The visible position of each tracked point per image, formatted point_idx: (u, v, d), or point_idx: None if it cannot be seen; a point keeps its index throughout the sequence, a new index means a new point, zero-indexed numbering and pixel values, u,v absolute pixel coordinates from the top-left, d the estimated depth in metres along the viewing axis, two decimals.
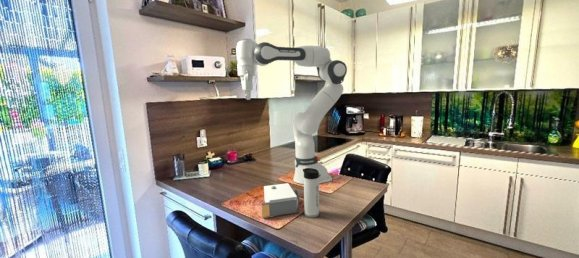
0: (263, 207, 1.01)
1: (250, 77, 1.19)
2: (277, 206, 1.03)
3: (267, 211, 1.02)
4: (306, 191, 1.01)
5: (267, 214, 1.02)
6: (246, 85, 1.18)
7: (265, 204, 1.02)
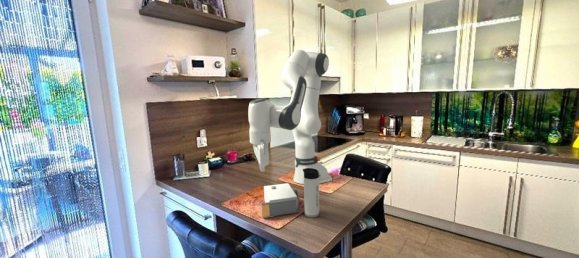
0: (263, 207, 1.01)
1: (266, 150, 0.95)
2: (277, 206, 1.03)
3: (267, 211, 1.02)
4: (306, 191, 1.01)
5: (267, 214, 1.02)
6: (261, 160, 0.94)
7: (265, 204, 1.02)
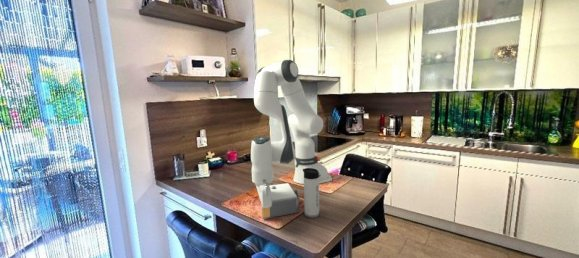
0: (263, 208, 1.00)
1: (269, 192, 0.93)
2: (277, 206, 1.03)
3: (267, 212, 1.01)
4: (306, 191, 1.01)
5: (267, 215, 1.01)
6: (264, 202, 0.93)
7: None
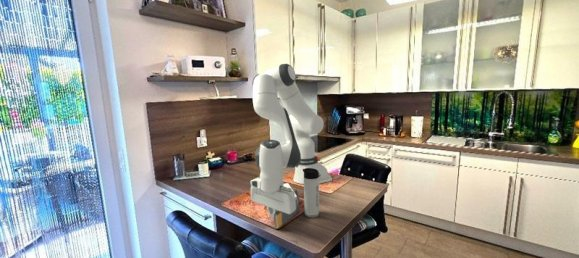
0: (278, 217, 0.93)
1: None
2: None
3: (280, 219, 0.95)
4: (306, 191, 1.01)
5: (280, 223, 0.95)
6: (291, 208, 0.88)
7: (278, 213, 0.94)
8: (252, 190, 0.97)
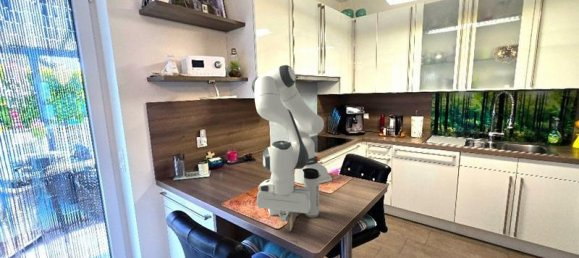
0: (290, 219, 0.91)
1: None
2: (293, 212, 0.97)
3: (292, 221, 0.93)
4: None
5: (292, 225, 0.93)
6: (308, 207, 0.88)
7: (290, 215, 0.92)
8: (259, 196, 0.92)
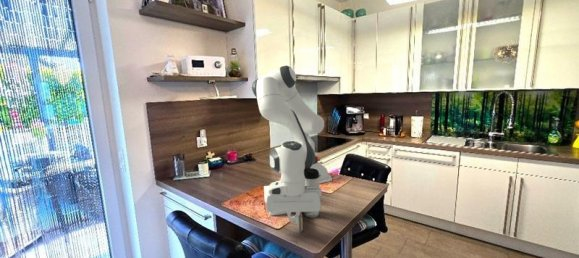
0: None
1: None
2: None
3: None
4: None
5: None
6: (320, 205, 0.90)
7: (301, 215, 0.92)
8: (269, 199, 0.89)
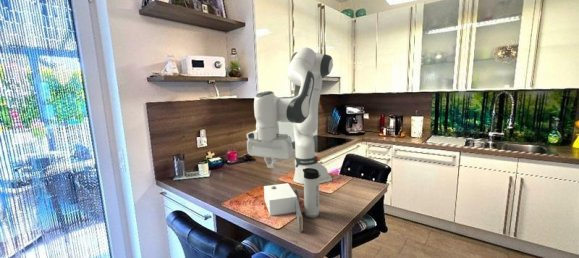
0: (302, 219, 0.91)
1: None
2: None
3: None
4: (306, 191, 1.01)
5: None
6: (289, 153, 0.92)
7: (301, 215, 0.92)
8: (249, 144, 1.00)
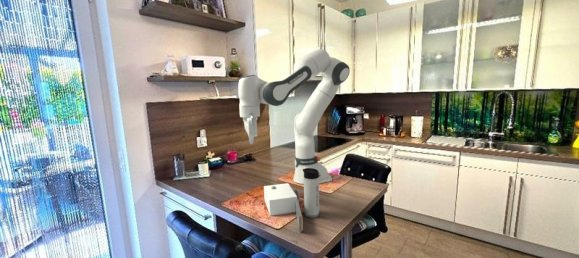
0: (302, 219, 0.91)
1: (254, 121, 1.01)
2: None
3: None
4: (306, 191, 1.01)
5: None
6: (250, 131, 1.00)
7: (301, 215, 0.92)
8: None
